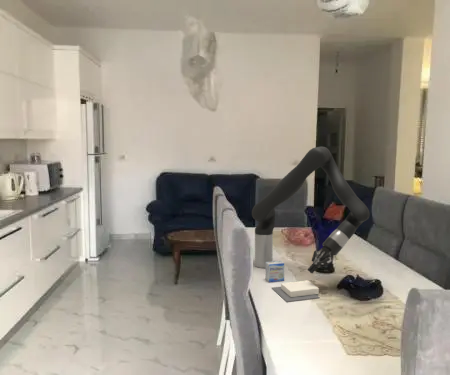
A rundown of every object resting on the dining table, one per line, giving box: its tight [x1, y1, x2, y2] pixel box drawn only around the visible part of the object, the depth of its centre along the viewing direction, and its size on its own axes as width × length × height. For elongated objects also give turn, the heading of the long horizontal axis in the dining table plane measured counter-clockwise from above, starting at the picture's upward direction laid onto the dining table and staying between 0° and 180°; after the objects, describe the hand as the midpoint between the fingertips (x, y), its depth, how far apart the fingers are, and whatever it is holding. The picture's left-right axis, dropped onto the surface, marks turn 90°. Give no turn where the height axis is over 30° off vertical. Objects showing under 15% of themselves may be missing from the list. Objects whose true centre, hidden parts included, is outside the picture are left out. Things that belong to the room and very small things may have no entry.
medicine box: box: [264, 260, 285, 283], centre depth 194 cm, size 8×4×9 cm, turn 105°
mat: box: [271, 286, 320, 303], centre depth 178 cm, size 16×15×1 cm
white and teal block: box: [280, 280, 320, 297], centre depth 178 cm, size 10×3×13 cm
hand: (309, 271), depth 179 cm, fingers closed
